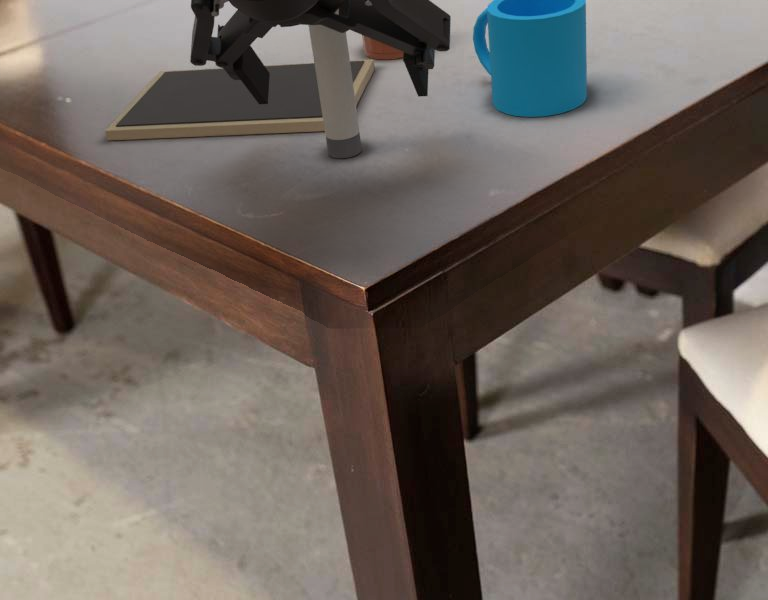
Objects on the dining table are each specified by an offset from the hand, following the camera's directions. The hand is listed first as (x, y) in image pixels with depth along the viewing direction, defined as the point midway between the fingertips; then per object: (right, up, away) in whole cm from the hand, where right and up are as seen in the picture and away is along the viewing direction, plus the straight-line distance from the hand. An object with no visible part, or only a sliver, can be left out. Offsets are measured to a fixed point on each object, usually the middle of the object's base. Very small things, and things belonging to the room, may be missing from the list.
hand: (342, 84), depth 91 cm
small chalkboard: (-10, +2, +13) cm, 16 cm away
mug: (+16, +1, +7) cm, 17 cm away
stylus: (0, -5, +1) cm, 5 cm away
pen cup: (+4, +9, +21) cm, 23 cm away
